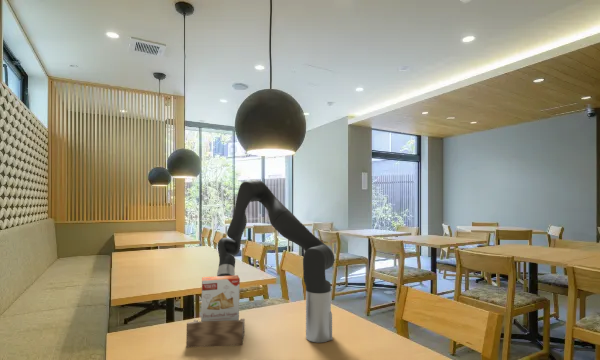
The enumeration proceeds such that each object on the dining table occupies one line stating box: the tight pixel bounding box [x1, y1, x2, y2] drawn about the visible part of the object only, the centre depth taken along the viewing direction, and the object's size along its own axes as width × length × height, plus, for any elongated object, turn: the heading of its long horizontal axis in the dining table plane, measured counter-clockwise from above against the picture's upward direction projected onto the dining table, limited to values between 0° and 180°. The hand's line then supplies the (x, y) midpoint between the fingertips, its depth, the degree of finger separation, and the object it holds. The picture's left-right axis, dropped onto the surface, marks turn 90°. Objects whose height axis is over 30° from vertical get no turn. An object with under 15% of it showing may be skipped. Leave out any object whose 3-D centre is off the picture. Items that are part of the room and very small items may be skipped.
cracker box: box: [200, 274, 241, 321], centre depth 128 cm, size 14×6×21 cm, turn 107°
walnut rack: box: [185, 318, 246, 348], centre depth 122 cm, size 19×12×8 cm, turn 95°
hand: (220, 316), depth 131 cm, fingers closed
